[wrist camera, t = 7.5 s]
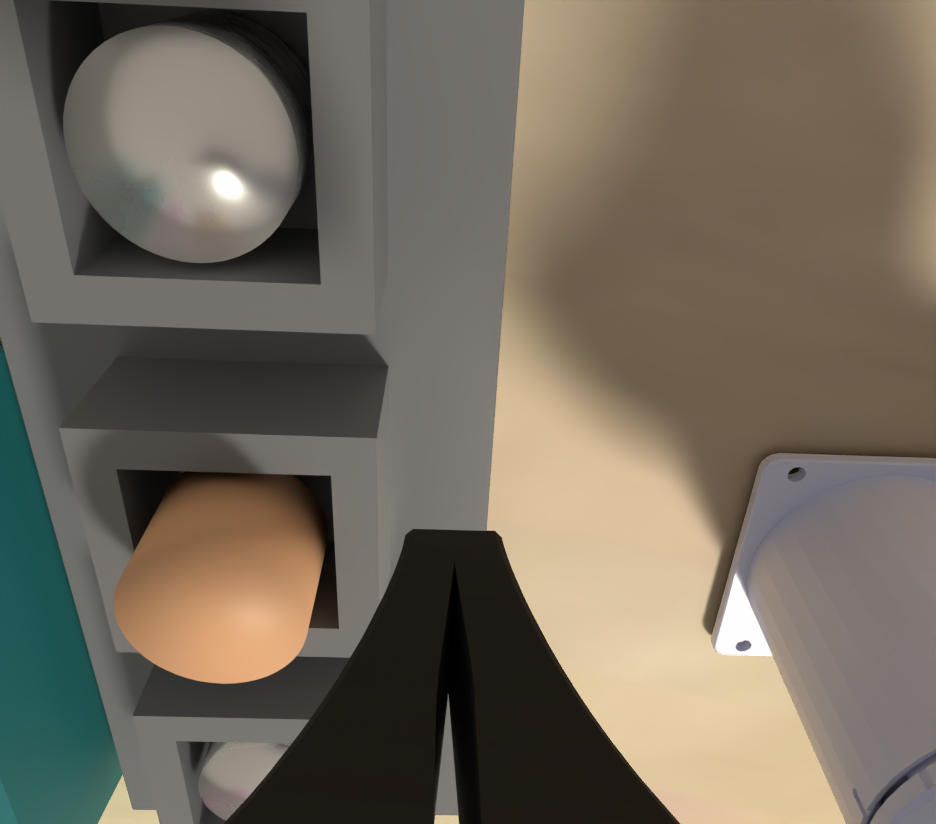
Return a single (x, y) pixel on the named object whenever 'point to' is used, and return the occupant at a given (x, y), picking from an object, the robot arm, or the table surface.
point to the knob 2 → (235, 773)
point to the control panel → (266, 340)
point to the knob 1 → (192, 134)
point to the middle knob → (225, 576)
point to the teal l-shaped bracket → (43, 656)
